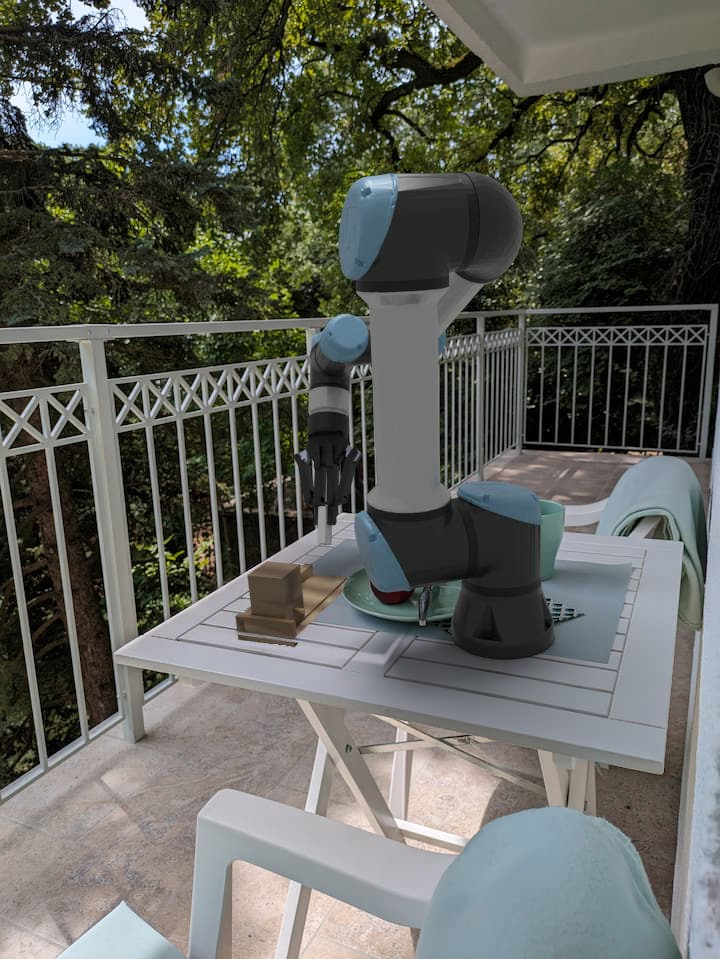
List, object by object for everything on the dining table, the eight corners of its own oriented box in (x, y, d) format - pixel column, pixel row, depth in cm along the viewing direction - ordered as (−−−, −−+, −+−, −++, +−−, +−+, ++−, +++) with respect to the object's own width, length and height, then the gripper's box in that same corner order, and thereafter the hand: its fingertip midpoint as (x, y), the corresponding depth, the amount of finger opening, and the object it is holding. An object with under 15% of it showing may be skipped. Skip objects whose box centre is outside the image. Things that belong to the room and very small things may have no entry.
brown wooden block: (272, 612, 120) (266, 561, 118) (313, 617, 117) (309, 565, 115) (253, 628, 115) (247, 575, 112) (296, 634, 112) (291, 579, 109)
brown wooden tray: (306, 581, 136) (304, 561, 135) (356, 586, 132) (354, 565, 131) (238, 639, 115) (235, 616, 114) (294, 647, 111) (292, 623, 110)
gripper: (369, 418, 135) (366, 545, 129) (306, 425, 140) (301, 547, 134) (352, 405, 128) (349, 539, 123) (287, 413, 133) (281, 542, 128)
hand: (324, 543), depth 129 cm, fingers closed
